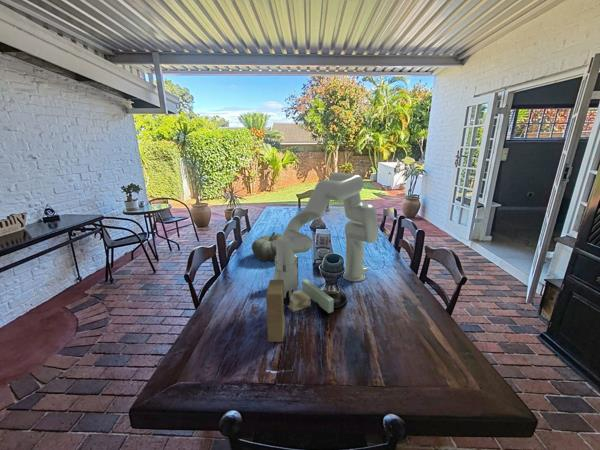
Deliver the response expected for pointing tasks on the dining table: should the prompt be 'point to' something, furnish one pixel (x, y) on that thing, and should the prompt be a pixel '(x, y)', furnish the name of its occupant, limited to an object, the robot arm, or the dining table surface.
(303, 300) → the ash block
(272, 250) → the gourd
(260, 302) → the dining table surface
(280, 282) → the decorative block
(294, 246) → the robot arm
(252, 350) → the dining table surface
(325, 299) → the sage board
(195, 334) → the dining table surface
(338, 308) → the dining table surface
